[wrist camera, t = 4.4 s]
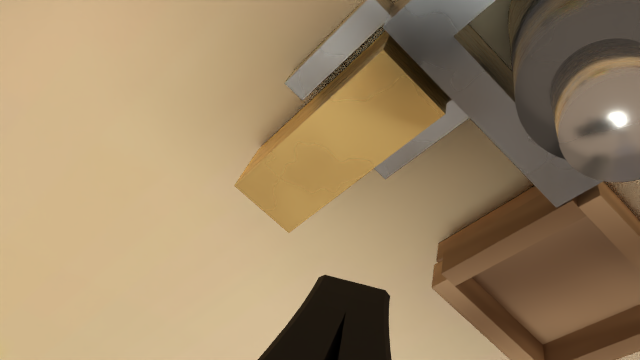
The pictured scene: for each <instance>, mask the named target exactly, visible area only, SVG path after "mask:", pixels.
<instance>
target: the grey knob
mask: <svg viewBox="0 0 640 360" xmlns="http://www.w3.org/2000/svg"><path fill="white" fill-rule="evenodd" d="M508 27H509V39H510V50H511V61H512V72H513V83H514V94H515V105H516V110H517V114H518V117H519V119H520V122H521V124H522V126H523V127H524V129H525V131H526V132H527V134H528V135H529V136H530V137H531V139H532V140H533V141H535V142H536V143H537V144H538V145H539V146H540V147H542V148H543V149H544V150H546V151H547V152H549V153H551V154H553V155H555V156H557V157H560V158H562V159H565V160H567V162H568V163H569V164H570V165H571V166H572V167H573V168H574V169H575V170H577V171H578V172H580V173H582V174H583V175H585V176H587V177H590V178H593V179H596V180H600V181H606V182H628V181H635V180H639V179H640V0H511V3H510V8H509V13H508Z"/></svg>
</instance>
